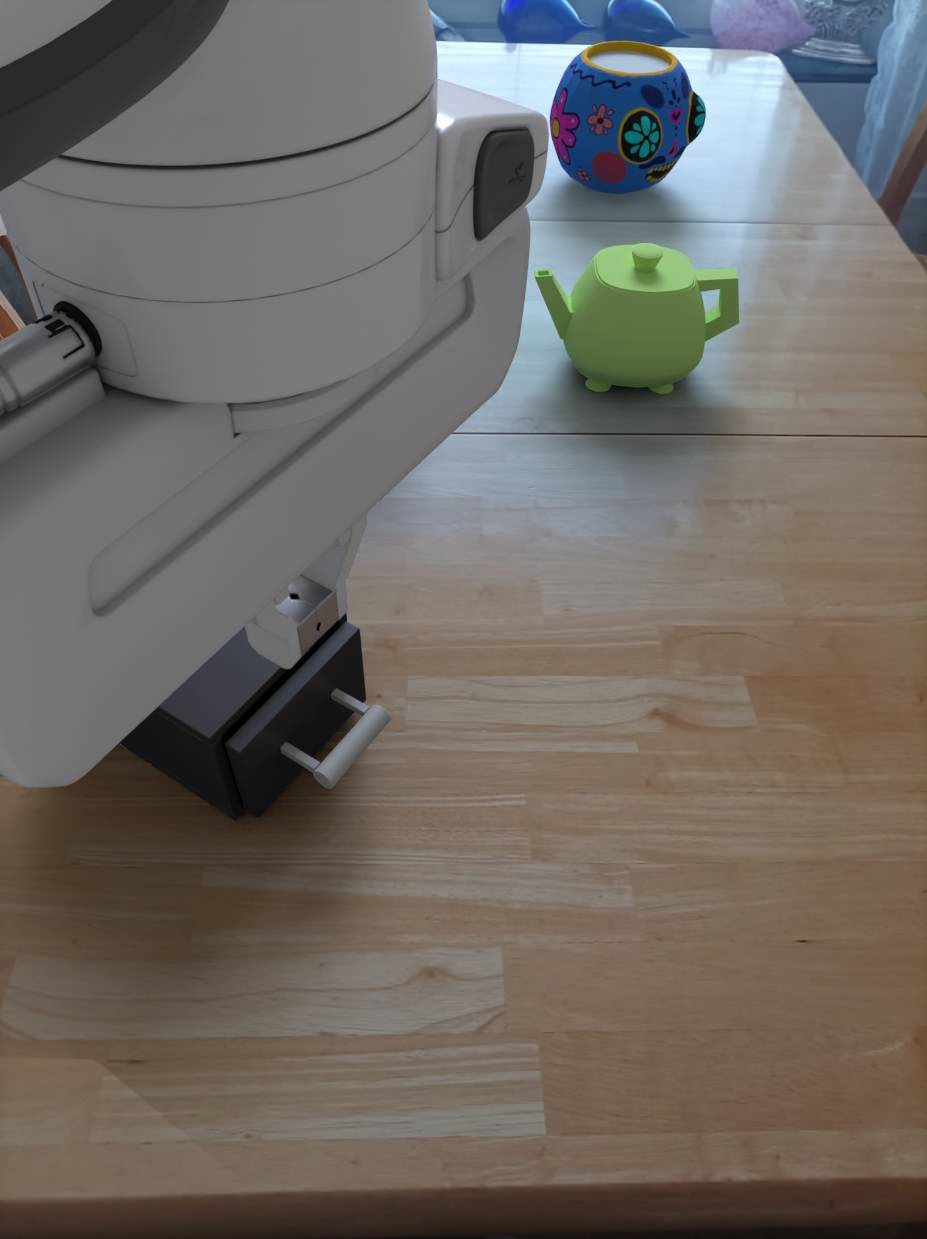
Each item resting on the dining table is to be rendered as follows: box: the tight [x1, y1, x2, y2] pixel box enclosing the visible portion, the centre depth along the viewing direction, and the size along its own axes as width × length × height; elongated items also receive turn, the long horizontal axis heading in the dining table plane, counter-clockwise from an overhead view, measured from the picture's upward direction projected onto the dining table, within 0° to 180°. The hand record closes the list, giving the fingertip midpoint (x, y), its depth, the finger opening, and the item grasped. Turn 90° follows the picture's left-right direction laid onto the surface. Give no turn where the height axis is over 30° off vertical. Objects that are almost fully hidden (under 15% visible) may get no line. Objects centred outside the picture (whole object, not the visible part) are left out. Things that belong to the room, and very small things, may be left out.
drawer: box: [220, 620, 392, 820], centre depth 61 cm, size 18×11×8 cm, turn 57°
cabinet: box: [118, 611, 348, 822], centre depth 63 cm, size 15×13×10 cm
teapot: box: [533, 242, 740, 395], centre depth 90 cm, size 20×13×13 cm
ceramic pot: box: [549, 40, 707, 195], centre depth 116 cm, size 18×18×15 cm
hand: (300, 632), depth 30 cm, fingers closed
